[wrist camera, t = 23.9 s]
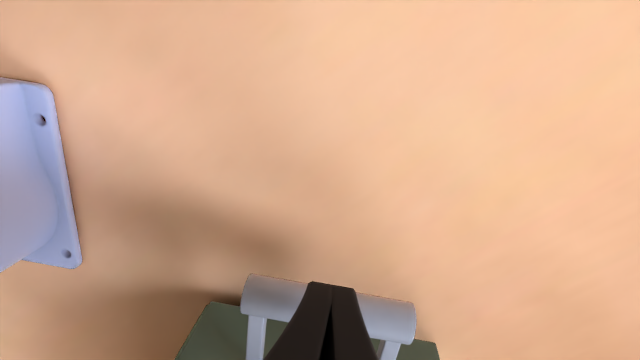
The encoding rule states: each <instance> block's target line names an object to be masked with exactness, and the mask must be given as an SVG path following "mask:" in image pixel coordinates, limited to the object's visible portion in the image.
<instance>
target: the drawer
mask: <svg viewBox="0 0 640 360" xmlns="http://www.w3.org/2000/svg"><path fill="white" fill-rule="evenodd" d="M307 285H308V284H307V283H301V282H296V281H290V280H285V279H279V278H274V277H268V276H263V275H257V274H250V275H249V276H248V278H247V280H246V283H245V286H244V289H243V293H242V297H241V304H240V306H235V305H229V304H224V303H219V302H213V301H211V302H210V304H209V305H208V307H207V309H206V311H205V312H204V314H203V316H202V318H201V319H200V321H199V323H198V324H197V326H196V328H195V330H194V331H193V333H192V335H191V337H190V338H189V340H188V342H187V344H186V345H185V347H184V349H183V350H182V352H181V354H180V356H179V357H178V359H177V360H263V359H264V358H265V357H266V355H267V354H268V352H269V351H270V350H271V348H272V347H273V346H274V344H275V343H276V341H277V340H278V339H279V337H280V336H281V334H282V333H283V331H284V329H285V328H286V326H287V324H288V323H289V321H290V320H291V318H292V316H293V315H294V313H295V311H296V309H297V308H298V306H299V304H300V302H301V300H302V298H303V296H304V293H305V291H306V288H307ZM356 295H357V299H358V303H359V307H360V310H361V313H362V317H363V320H364V323H365V325H366V328H367V331H368V334H369V336H370V339H371V342H372V344H373V346H374V349H375V351H376V354H377V356H378V359H379V360H440V359H439V355H438V351H437V347H436V344H435V343H433V342H427V341H422V340H417V339H414V336H415V331H416V310H415V306H414V304H413V303H411V302H406V301H400V300H395V299H389V298H384V297H378V296H373V295H367V294H362V293H356Z"/></svg>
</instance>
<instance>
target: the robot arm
mask: <svg viewBox="0 0 640 360" xmlns="http://www.w3.org/2000/svg"><path fill="white" fill-rule="evenodd" d="M42 116H43V117H44V118H45V120H46V122H45V121H44V120H43V118H42ZM20 260H25V261H31V262H36V263H41V264H47V265H52V266H57V267H63V268H68V269H75V268H77V267H78V266H79V265H80V264H81V263H82V255H81V249H80V244H79V238H78V232H77V227H76V221H75V215H74V209H73V204H72V198H71V192H70V187H69V181H68V175H67V170H66V164H65V158H64V153H63V147H62V141H61V136H60V130H59V124H58V119H57V113H56V107H55V102H54V97H53V94H52V92H51V90H50V89H49V88H48V87H47V86H45V85H43V84H40V83H34V82H28V81H22V80H15V79H9V78H3V77H0V273H1V272H2V271H4V270H5V269H7V268H9V267H10V266H12V265H13V264H15V263H16V262H18V261H20ZM263 360H379V359H378V356H377V354H376V351H375V349H374V346H373V344H372V342H371V339H370V336H369V334H368V331H367V328H366V325H365V323H364V320H363V317H362V313H361V310H360V307H359V303H358V299H357V295H356V292H355V291H354V289H352V288H347V287H341V286H336V285H330V284H324V283H319V282H313V281H312V282H310V283H308V285H307V288H306V291H305V293H304V296H303V298H302V300H301V302H300V304H299V306H298V308H297V309H296V311H295V313H294V315H293V316H292V318H291V320H290V321H289V323H288V324H287V326H286V328H285V329H284V331H283V333H282V334H281V336H280V337H279V339H278V340H277V341H276V343H275V344H274V346H273V347H272V348H271V350H270V351H269V352H268V354H267V355H266V357H265V358H264V359H263Z"/></svg>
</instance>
